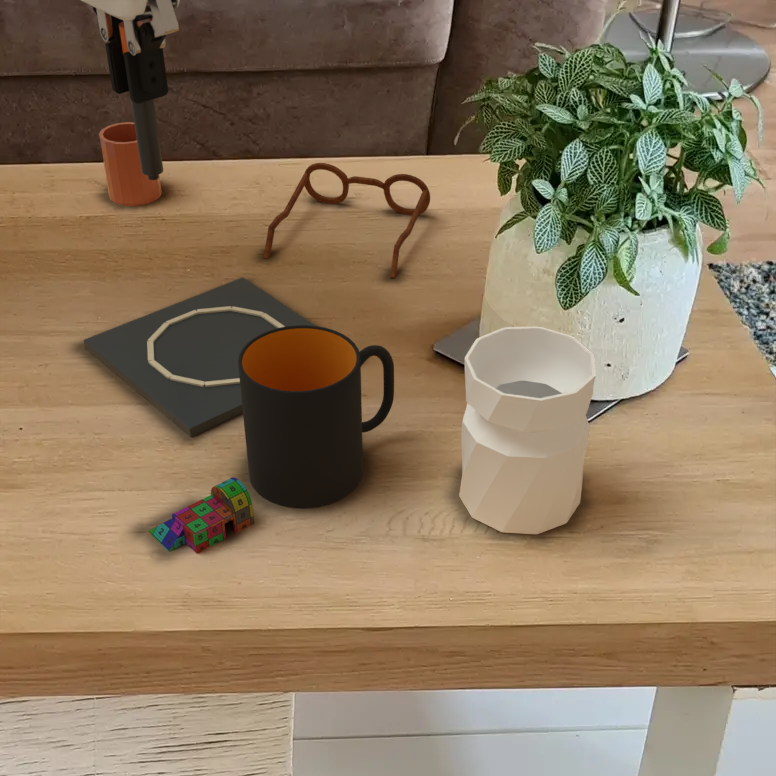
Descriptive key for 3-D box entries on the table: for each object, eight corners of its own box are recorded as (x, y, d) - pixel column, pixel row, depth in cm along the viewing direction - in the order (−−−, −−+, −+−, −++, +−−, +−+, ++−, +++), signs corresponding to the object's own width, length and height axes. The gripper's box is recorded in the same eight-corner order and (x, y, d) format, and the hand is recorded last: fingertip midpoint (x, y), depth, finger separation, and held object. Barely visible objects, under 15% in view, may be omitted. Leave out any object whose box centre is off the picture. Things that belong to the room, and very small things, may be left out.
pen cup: (126, 214, 117) (116, 148, 112) (100, 196, 120) (89, 131, 115) (171, 199, 120) (163, 134, 115) (144, 181, 122) (135, 117, 118)
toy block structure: (221, 498, 83) (217, 461, 81) (254, 527, 81) (250, 490, 79) (147, 535, 80) (141, 497, 78) (180, 566, 78) (174, 528, 76)
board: (191, 441, 88) (189, 426, 87) (85, 351, 97) (82, 337, 96) (355, 363, 97) (355, 349, 96) (244, 288, 106) (242, 274, 105)
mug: (426, 463, 87) (428, 347, 80) (288, 528, 81) (279, 407, 75) (362, 410, 92) (360, 296, 86) (228, 467, 86) (215, 349, 80)
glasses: (431, 219, 118) (431, 173, 114) (394, 282, 108) (394, 234, 104) (307, 202, 120) (305, 156, 117) (260, 262, 110) (256, 213, 107)
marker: (150, 185, 98) (127, 29, 90) (137, 177, 99) (113, 23, 91) (169, 178, 99) (148, 24, 91) (157, 171, 100) (135, 18, 92)
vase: (513, 446, 89) (524, 311, 81) (604, 499, 84) (624, 362, 77) (433, 498, 84) (436, 359, 76) (524, 558, 79) (538, 417, 72)
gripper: (1, -169, 85) (49, 77, 97) (117, -130, 77) (154, 136, 88) (93, -182, 90) (128, 56, 101) (212, -146, 81) (236, 111, 92)
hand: (140, 92), depth 94 cm, fingers closed on marker, 2 cm apart
